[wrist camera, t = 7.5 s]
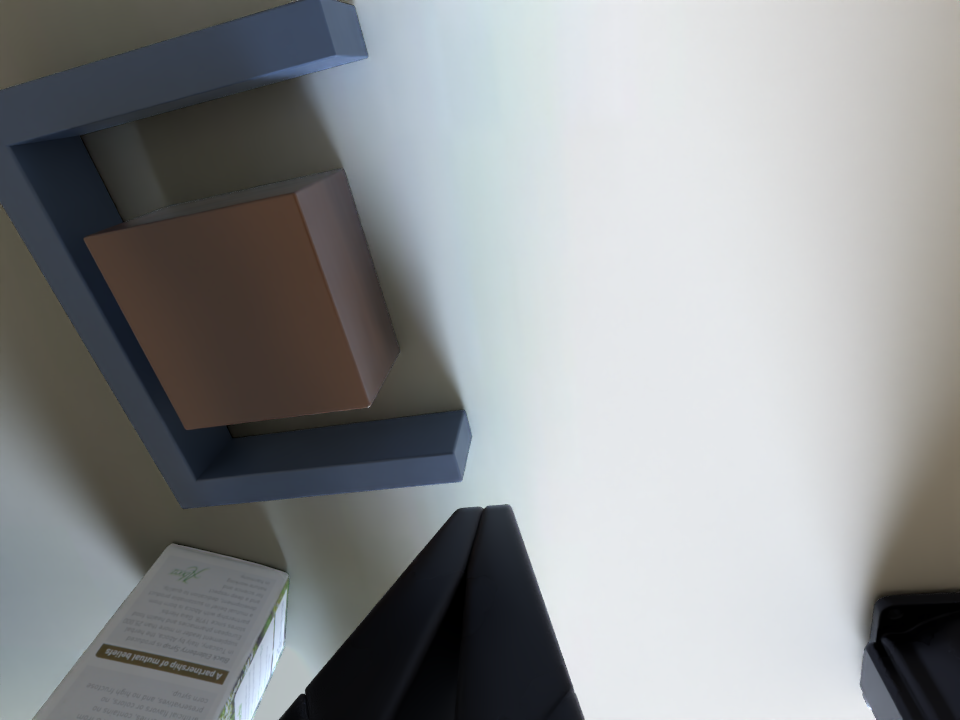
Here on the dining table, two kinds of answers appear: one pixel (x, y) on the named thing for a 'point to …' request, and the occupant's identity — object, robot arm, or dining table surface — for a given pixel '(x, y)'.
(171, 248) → the walnut block
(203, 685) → the syrup box
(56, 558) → the dining table surface
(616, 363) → the dining table surface
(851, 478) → the dining table surface
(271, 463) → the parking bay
